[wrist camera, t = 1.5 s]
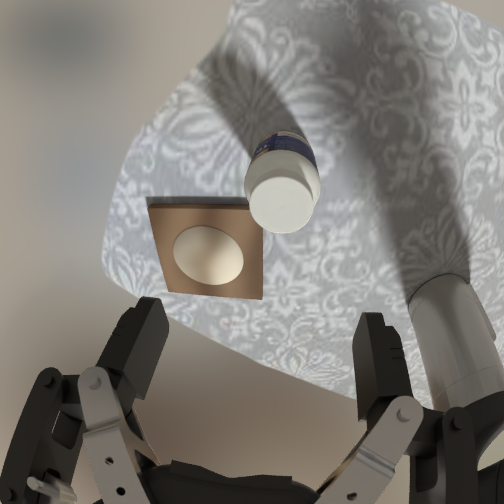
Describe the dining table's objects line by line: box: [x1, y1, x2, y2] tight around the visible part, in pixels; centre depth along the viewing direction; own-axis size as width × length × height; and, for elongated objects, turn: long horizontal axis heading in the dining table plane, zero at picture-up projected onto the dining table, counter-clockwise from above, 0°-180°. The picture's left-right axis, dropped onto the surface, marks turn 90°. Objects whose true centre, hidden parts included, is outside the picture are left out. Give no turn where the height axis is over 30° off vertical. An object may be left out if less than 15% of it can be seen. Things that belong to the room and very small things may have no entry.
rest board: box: [148, 204, 263, 300], centre depth 32 cm, size 12×12×1 cm
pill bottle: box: [244, 131, 321, 233], centre depth 21 cm, size 5×5×10 cm
